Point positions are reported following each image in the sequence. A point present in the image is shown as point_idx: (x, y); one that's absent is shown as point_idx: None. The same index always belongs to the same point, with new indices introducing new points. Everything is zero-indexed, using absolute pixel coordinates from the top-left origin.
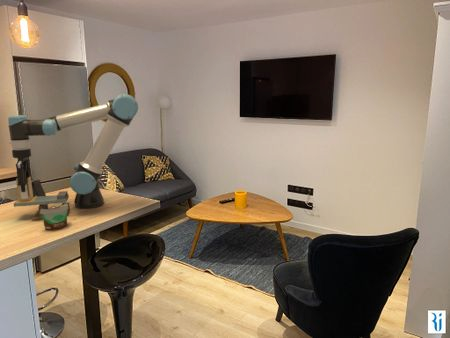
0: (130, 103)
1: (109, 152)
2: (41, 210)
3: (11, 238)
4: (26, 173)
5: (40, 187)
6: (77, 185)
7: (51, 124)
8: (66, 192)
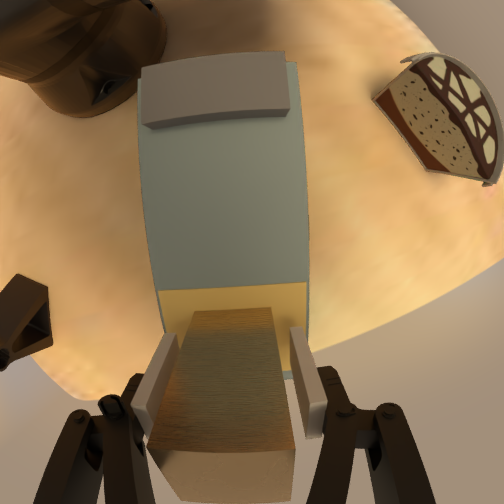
0: None
1: None
2: (495, 179)
3: (459, 268)
4: (144, 494)
5: None
6: None
7: None
8: (190, 58)
